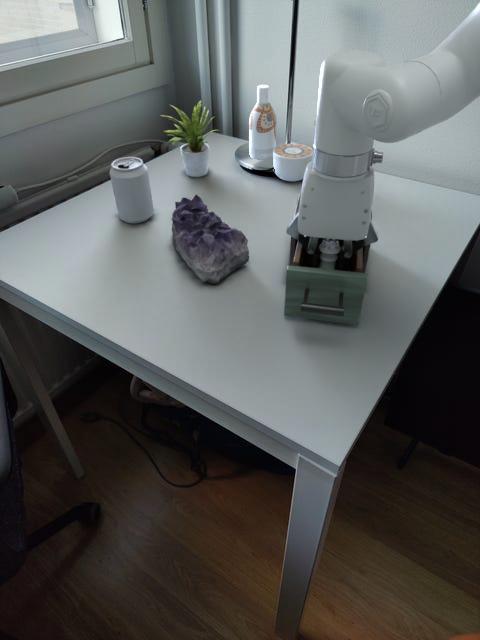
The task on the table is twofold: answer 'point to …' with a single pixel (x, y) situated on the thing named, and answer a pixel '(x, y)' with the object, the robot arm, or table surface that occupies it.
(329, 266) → the rook chess piece
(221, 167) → the table surface
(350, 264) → the drawer
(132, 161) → the can
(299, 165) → the cosmetic set
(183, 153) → the house plant
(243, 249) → the geode
